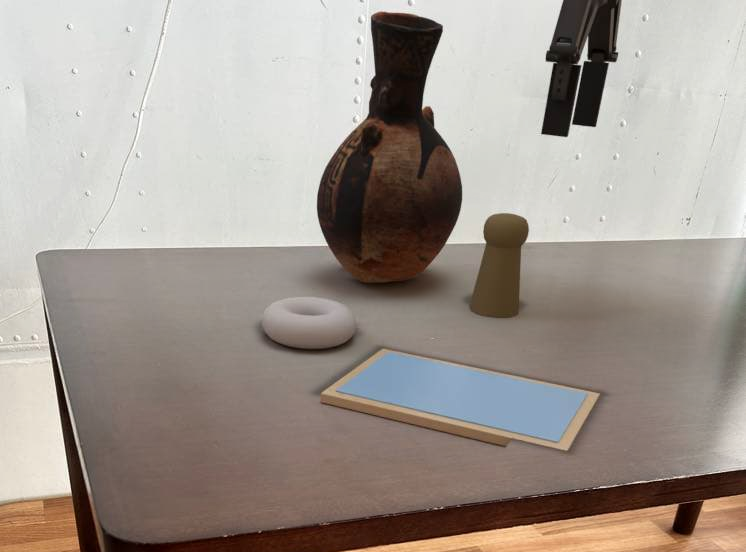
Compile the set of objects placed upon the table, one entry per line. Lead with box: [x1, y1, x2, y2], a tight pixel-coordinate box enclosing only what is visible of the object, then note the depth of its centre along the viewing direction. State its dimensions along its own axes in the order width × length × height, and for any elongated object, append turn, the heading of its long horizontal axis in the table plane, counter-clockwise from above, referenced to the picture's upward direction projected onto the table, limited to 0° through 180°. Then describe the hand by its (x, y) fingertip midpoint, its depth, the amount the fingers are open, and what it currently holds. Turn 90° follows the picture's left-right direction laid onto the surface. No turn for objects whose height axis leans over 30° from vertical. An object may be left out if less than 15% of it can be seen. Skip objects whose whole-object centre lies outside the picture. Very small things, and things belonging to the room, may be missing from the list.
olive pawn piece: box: [468, 212, 530, 318], centre depth 97 cm, size 6×6×11 cm
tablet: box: [320, 348, 601, 452], centre depth 74 cm, size 22×14×1 cm, turn 64°
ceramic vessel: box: [316, 10, 463, 284], centre depth 101 cm, size 21×18×30 cm
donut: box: [261, 296, 357, 350], centre depth 86 cm, size 10×3×10 cm
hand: (569, 130), depth 91 cm, fingers open, 13 cm apart
